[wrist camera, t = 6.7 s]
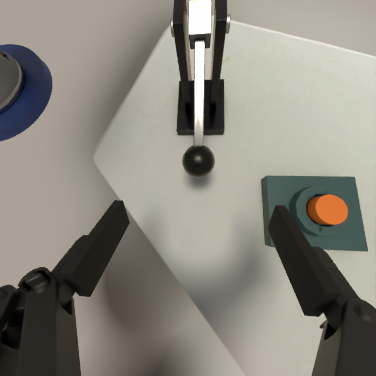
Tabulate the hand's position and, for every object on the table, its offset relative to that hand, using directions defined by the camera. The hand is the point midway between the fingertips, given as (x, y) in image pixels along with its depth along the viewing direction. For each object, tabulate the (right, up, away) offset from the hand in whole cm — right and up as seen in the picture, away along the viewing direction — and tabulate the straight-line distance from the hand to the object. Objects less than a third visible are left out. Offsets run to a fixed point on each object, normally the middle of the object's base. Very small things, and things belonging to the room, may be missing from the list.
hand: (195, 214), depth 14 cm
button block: (+17, -1, +10) cm, 20 cm away
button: (+17, -1, +7) cm, 18 cm away
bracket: (+2, +17, +15) cm, 23 cm away
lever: (+1, +13, +6) cm, 14 cm away
